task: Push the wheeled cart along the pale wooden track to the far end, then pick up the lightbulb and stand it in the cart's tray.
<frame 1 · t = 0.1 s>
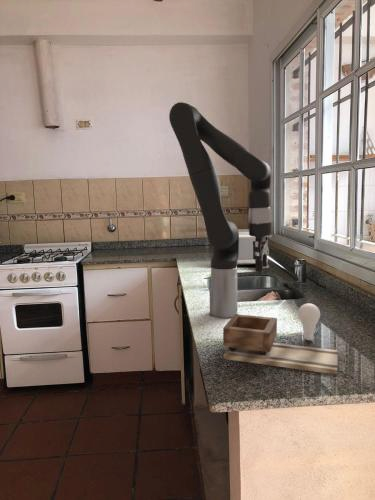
hand: (261, 268, 131), 17 cm above the worktop, tool pointing down, fingers open, 8 cm apart
cart: (250, 334, 105), point 5 cm above the worktop, slide at 0.0 cm
toaster: (242, 265, 228), on the worktop
lightbulb: (308, 340, 113), on the worktop
track: (280, 356, 102), on the worktop
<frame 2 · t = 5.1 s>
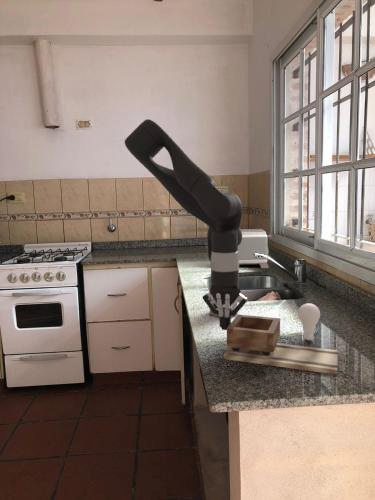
hand: (225, 329, 107), 6 cm above the worktop, tool pointing down, fingers closed
cart: (254, 335, 104), point 5 cm above the worktop, slide at 0.9 cm, touching gripper
everything else where it was.
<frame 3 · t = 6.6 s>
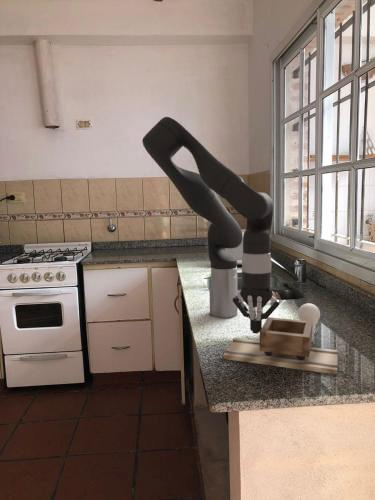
hand: (256, 332, 104), 6 cm above the worktop, tool pointing down, fingers closed
cart: (286, 338, 101), point 5 cm above the worktop, slide at 9.5 cm, touching gripper
everything else where it was.
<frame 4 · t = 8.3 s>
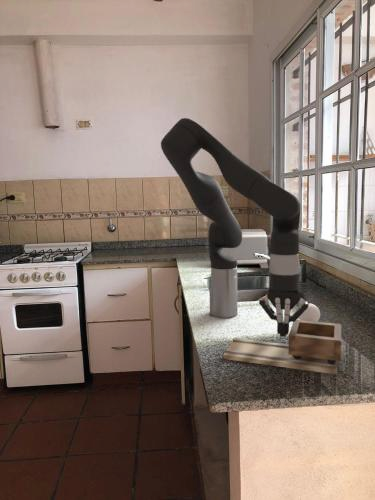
hand: (283, 335, 101), 6 cm above the worktop, tool pointing down, fingers closed
cart: (315, 342, 99), point 5 cm above the worktop, slide at 16.6 cm, touching gripper
everything else where it was.
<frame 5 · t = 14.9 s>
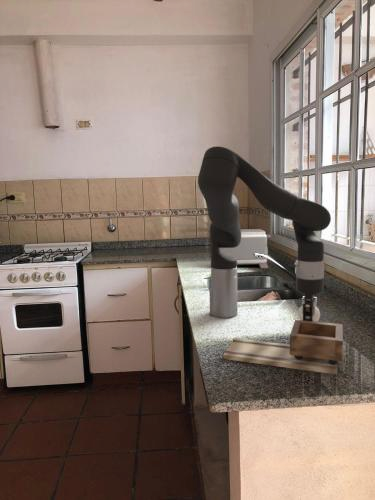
hand: (308, 331, 113), 2 cm above the worktop, tool pointing down, fingers closed on lightbulb, 5 cm apart
cart: (316, 342, 98), point 5 cm above the worktop, slide at 16.9 cm
lightbulb: (308, 340, 113), on the worktop, touching gripper
everything else where it was.
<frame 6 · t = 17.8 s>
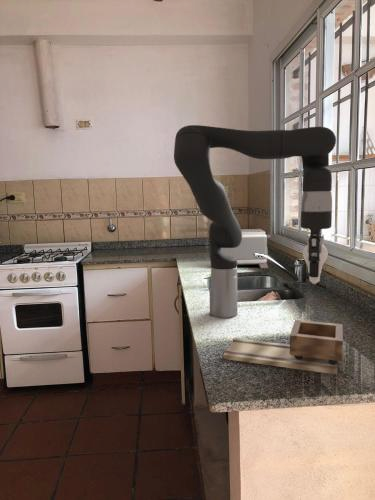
hand: (314, 274, 101), 22 cm above the worktop, tool pointing down, fingers closed on lightbulb, 5 cm apart
lightbulb: (314, 284, 101), point 19 cm above the worktop, touching gripper
everything else where it was.
when the fingers open (8 cm above the worktop, at t = 21.1 s): lightbulb drops 1 cm, resting on cart.
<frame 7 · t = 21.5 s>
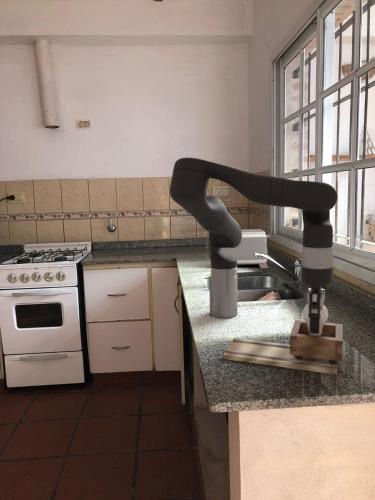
hand: (315, 327, 98), 9 cm above the worktop, tool pointing down, fingers open, 8 cm apart
cart: (316, 342, 98), point 5 cm above the worktop, slide at 16.9 cm, touching lightbulb
lightbulb: (315, 344, 99), point 4 cm above the worktop, touching cart
everything else where it was.
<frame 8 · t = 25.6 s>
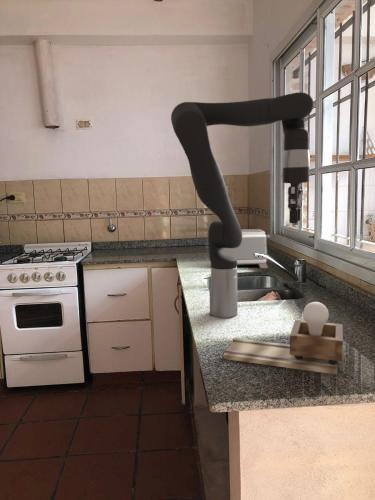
hand: (295, 221, 115), 34 cm above the worktop, tool pointing down, fingers open, 8 cm apart
at the end: cart slide at 16.9 cm; lightbulb inside the target area (0.7 cm from its centre), point 4.3 cm above the worktop; lightbulb tilted 0° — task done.
